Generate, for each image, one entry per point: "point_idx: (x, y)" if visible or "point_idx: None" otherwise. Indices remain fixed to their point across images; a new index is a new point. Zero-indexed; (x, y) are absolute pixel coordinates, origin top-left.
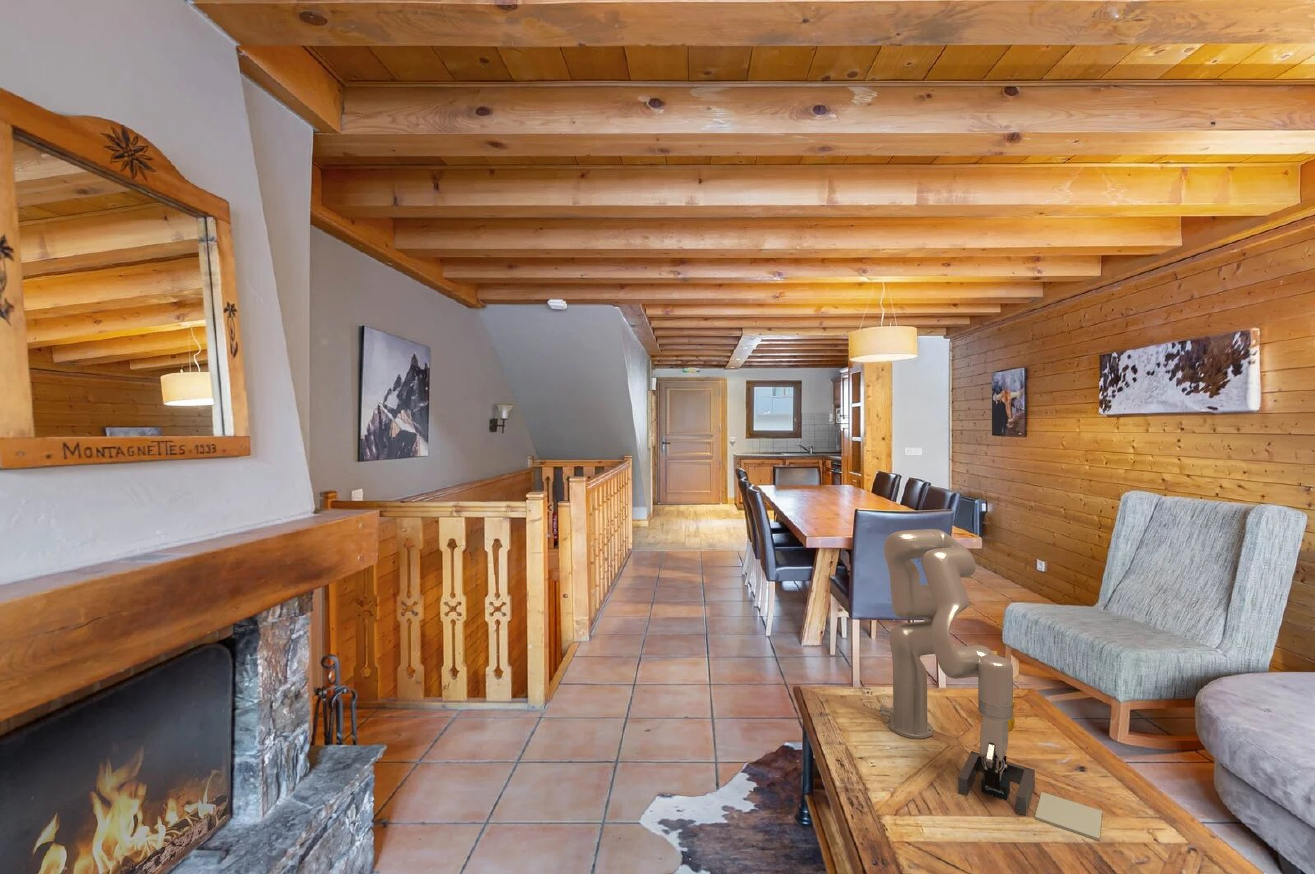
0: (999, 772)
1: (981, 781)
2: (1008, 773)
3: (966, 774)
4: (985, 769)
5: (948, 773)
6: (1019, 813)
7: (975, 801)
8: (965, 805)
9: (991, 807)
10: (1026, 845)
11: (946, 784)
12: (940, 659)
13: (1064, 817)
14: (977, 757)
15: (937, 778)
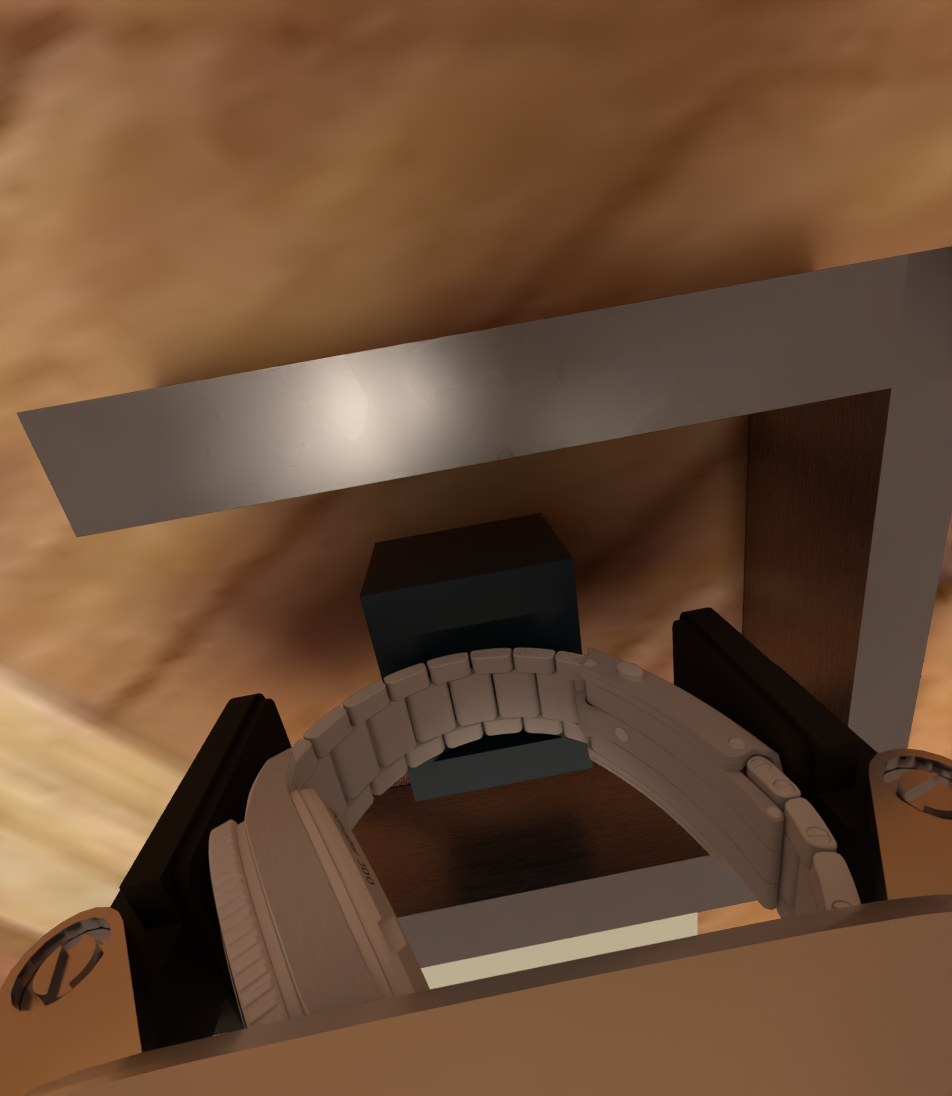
0: (219, 1029)
1: (363, 588)
2: (781, 655)
3: (212, 473)
4: (54, 931)
5: (459, 121)
6: None
7: (174, 568)
8: (18, 534)
9: (213, 682)
10: (3, 946)
11: (196, 215)
12: None
13: (479, 978)
14: (829, 393)
15: (222, 48)
